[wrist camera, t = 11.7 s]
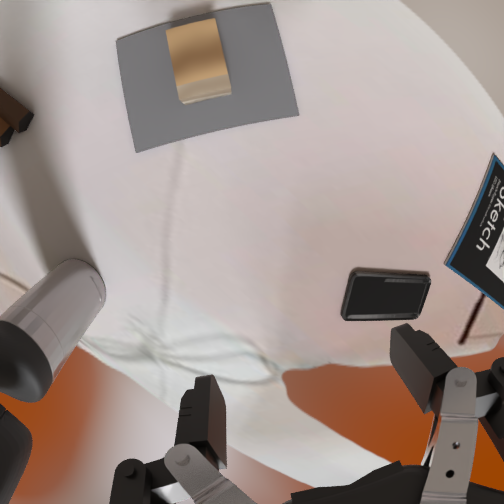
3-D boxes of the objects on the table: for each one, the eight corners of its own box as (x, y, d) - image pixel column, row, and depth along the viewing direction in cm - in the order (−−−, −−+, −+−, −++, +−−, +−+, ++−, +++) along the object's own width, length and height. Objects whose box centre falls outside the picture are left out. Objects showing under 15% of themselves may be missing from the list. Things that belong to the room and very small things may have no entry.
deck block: (172, 41, 28) (165, 30, 24) (216, 30, 28) (215, 17, 24) (185, 105, 31) (179, 99, 27) (231, 94, 31) (231, 87, 27)
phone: (418, 319, 43) (340, 321, 42) (415, 315, 44) (338, 317, 43) (433, 276, 41) (353, 272, 39) (429, 273, 42) (350, 269, 40)
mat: (137, 152, 33) (135, 152, 32) (117, 42, 28) (115, 41, 27) (298, 115, 33) (299, 115, 32) (270, 5, 27) (270, 3, 27)
